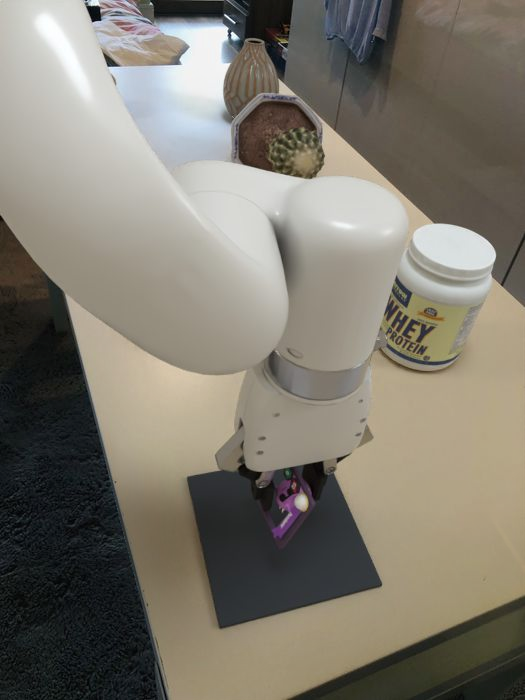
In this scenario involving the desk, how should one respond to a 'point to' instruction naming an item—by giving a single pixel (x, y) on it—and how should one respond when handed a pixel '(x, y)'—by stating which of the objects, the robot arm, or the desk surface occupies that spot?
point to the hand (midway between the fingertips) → (286, 491)
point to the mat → (275, 549)
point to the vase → (249, 76)
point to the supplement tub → (437, 296)
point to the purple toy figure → (290, 505)
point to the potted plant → (278, 136)
